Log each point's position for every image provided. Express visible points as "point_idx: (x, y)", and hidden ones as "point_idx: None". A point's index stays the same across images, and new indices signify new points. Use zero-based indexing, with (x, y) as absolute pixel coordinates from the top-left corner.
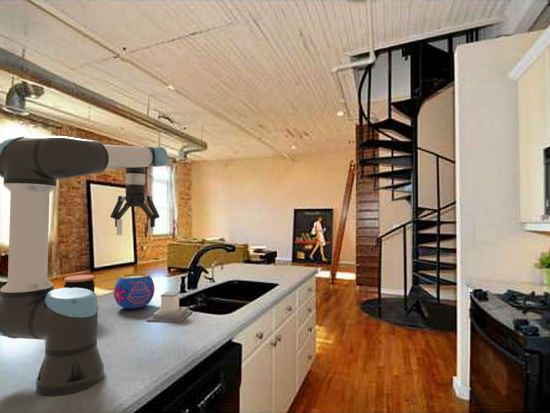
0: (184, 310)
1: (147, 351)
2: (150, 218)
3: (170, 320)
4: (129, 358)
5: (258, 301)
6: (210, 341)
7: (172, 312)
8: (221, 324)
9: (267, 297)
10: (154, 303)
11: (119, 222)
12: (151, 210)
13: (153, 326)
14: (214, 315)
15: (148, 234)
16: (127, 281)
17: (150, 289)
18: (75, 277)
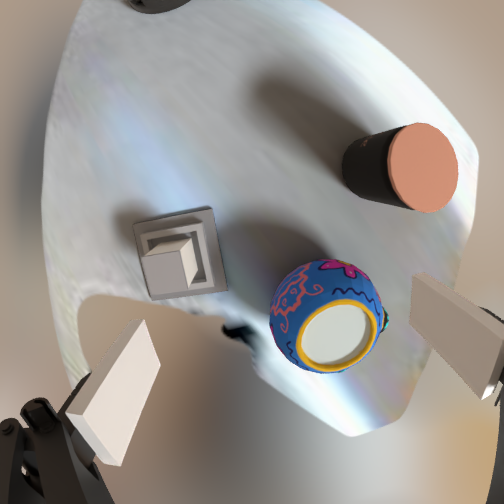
0: None
1: (114, 77)
2: (36, 405)
3: (153, 220)
4: (127, 49)
5: None
6: (45, 155)
7: (159, 245)
8: (61, 238)
9: None
10: None
11: (477, 340)
12: (6, 496)
13: (174, 183)
14: (98, 287)
15: (137, 323)
16: (331, 289)
17: (271, 320)
18: (434, 159)
